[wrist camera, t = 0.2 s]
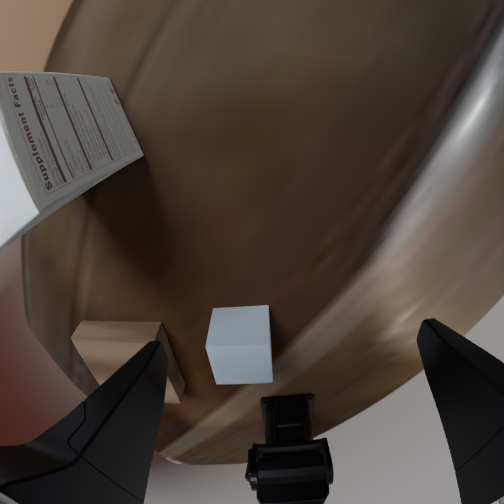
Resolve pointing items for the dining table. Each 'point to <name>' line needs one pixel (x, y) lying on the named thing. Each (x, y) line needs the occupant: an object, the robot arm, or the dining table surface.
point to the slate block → (240, 345)
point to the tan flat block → (123, 350)
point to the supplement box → (56, 143)
